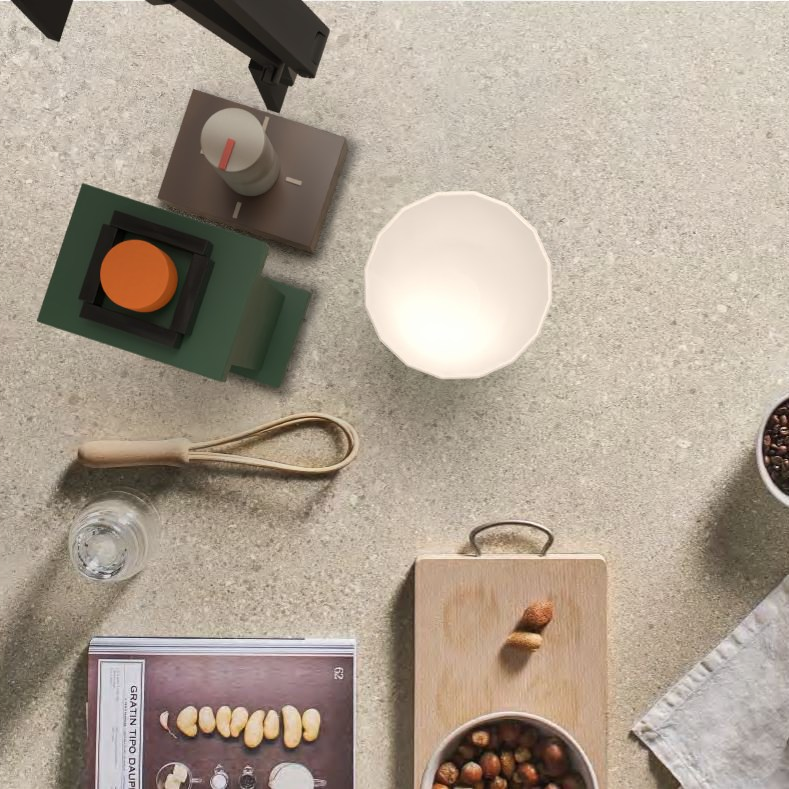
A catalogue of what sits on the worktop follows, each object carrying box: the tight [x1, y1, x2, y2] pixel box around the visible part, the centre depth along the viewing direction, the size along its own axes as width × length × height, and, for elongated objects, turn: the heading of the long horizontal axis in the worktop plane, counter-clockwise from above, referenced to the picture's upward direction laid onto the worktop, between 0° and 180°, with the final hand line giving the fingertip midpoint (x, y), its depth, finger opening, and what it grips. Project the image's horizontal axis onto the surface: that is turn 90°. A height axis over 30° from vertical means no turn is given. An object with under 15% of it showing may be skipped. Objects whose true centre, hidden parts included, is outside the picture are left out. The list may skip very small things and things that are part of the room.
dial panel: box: [157, 88, 349, 254], centre depth 77 cm, size 14×10×3 cm
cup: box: [362, 190, 553, 380], centre depth 71 cm, size 14×14×16 cm
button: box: [100, 240, 178, 312], centre depth 52 cm, size 4×4×2 cm
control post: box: [36, 182, 313, 390], centre depth 66 cm, size 12×9×26 cm
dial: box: [201, 108, 280, 196], centre depth 72 cm, size 5×5×8 cm
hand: (170, 54), depth 51 cm, fingers open, 13 cm apart
